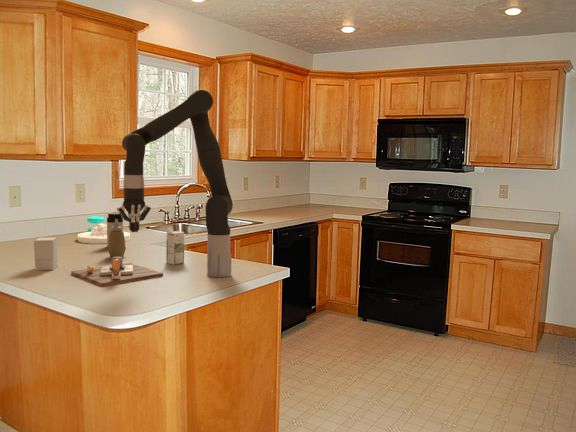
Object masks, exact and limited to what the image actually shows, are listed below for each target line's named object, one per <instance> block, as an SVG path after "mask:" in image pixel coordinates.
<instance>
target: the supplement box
mask: <svg viewBox="0 0 576 432" xmlns="http://www.w3.org/2000/svg"><path fill="white" fill-rule="evenodd" d="M33 247H34V268H35V270H34V271H48V270H49V271H54V270H55V269H56V268H57V267H58V266H59V264H58V237H38V238H36V239H35V240H33Z"/></svg>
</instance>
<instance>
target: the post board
mask: <svg viewBox="0 0 576 432" xmlns="http://www.w3.org/2000/svg"><path fill="white" fill-rule="evenodd" d="M113 259H119V270H122V265H133V274H128V275H121V277H120V279H112V275H100V272H101V269H102V266H100V267H98V266H97V267H93V274H87V268H86V269H79V270H72V271H70V274H71V275H72V276H74V277H77V278H80V279H83V280H84V281H87V282H90V283H93V284H94V285H97V286H100V287H101V288H102V287H108V286H113V285H120V284H126V283H130V282H137V281H138V282H139V281H144V280H147V279H156V278H160V277H163V276H164V273H163V272H160V271H157V270H155V269H152V268H148V267H144V266H141V265H138V264H135V263H131V262H127V263H123V257H111V266H112V270H113Z"/></svg>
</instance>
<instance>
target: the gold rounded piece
mask: <svg viewBox="0 0 576 432" xmlns="http://www.w3.org/2000/svg"><path fill="white" fill-rule="evenodd" d="M93 268H94V266H93V265H87V267H86V269H87V274H93Z"/></svg>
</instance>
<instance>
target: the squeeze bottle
mask: <svg viewBox="0 0 576 432" xmlns="http://www.w3.org/2000/svg"><path fill="white" fill-rule="evenodd" d="M111 230H112V231H111V232H110V233H109V242H108V246H107V251H108V254H109V257H110V258H112V257H122V258H124V255H125V253H126V249H127V248H126V241H125V238H124V232H125V231H124V230H123V231H121V230H122V227H120V226H119V222H118V219H115V222H114V227H111Z"/></svg>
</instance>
